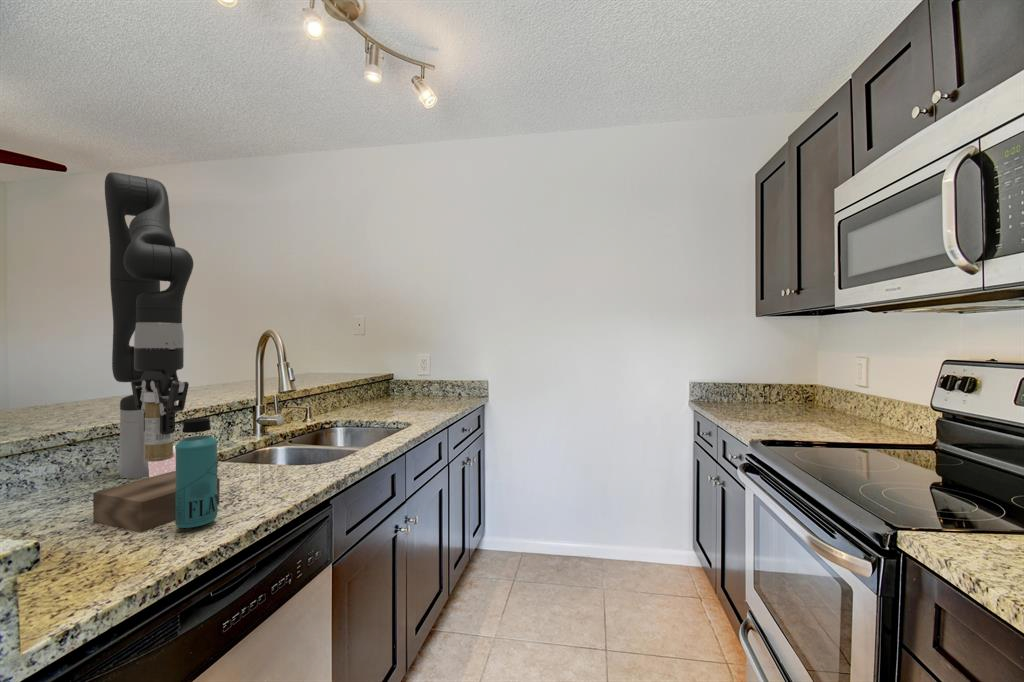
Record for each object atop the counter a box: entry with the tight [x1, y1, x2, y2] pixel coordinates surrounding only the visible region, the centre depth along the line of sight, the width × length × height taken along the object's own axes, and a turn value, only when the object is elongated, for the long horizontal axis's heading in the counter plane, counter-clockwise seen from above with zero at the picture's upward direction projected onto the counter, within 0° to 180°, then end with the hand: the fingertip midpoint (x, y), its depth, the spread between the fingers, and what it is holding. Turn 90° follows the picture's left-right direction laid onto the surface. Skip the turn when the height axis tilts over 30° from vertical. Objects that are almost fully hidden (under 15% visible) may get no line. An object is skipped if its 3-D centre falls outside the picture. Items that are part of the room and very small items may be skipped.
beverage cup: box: [148, 444, 176, 478], centre depth 99 cm, size 6×6×14 cm
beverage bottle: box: [174, 417, 219, 529], centre depth 77 cm, size 6×7×20 cm
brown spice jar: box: [144, 392, 175, 462], centre depth 84 cm, size 5×5×13 cm
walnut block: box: [92, 471, 221, 534], centre depth 84 cm, size 14×14×6 cm
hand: (159, 432), depth 84 cm, fingers closed on brown spice jar, 4 cm apart
